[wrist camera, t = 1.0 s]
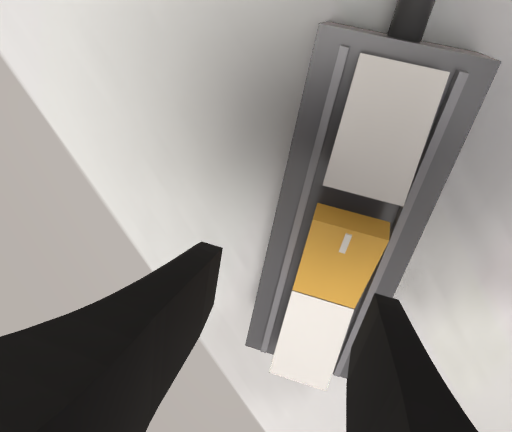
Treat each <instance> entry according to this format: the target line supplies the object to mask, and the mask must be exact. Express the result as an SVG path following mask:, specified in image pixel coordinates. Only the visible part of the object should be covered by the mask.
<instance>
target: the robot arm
mask: <svg viewBox="0 0 512 432" xmlns="http://www.w3.org/2000/svg"><path fill="white" fill-rule="evenodd" d="M222 249H223V248H221V247H218V246H214V245H211V244H208V243H204V242H200V243H198V244H196V245H195V246H193V247H192V248H190V249H189V250H187V251H186V252H184V253H182V254H181V255H179V256H178V257H176V258H175V259H173V260H171V261H170V262H168V263H167V264H165V265H163V266H162V267H160V268H158V269H157V270H155V271H153V272H152V273H150V274H148V275H147V276H145V277H143V278H141V279H140V280H138V281H136V282H134V283H132V284H130V285H129V286H127V287H125V288H123V289H121V290H119V291H117V292H115V293H113V294H111V295H109V296H107V297H105V298H103V299H101V300H99V301H97V302H95V303H93V304H90V305H88V306H85V307H83V308H81V309H78V310H76V311H74V312H71V313H69V314H66V315H64V316H61V317H58V318H55V319H52V320H49V321H46V322H43V323H41V324H38V325H35V326H32V327H30V328H27V329H24V330H21V331H18V332H15V333H11V334H8V335H4V336H1V337H0V432H146V430H147V428H148V425H149V423H150V421H151V420H152V418H153V416H154V414H155V412H156V410H157V408H158V406H159V405H160V403H161V401H162V400H163V398H164V396H165V395H166V393H167V391H168V389H169V388H170V386H171V384H172V383H173V381H174V379H175V378H176V376H177V374H178V372H179V371H180V369H181V367H182V366H183V364H184V362H185V361H186V359H187V357H188V356H189V354H190V352H191V350H192V349H193V347H194V345H195V343H196V342H197V340H198V338H199V337H200V335H201V332H202V330H203V328H204V326H205V323H206V321H207V319H208V316H209V314H210V312H211V309H212V307H213V305H214V299H215V293H216V286H217V280H218V274H219V268H220V261H221V255H222ZM346 432H478V431H477V430H476V428H475V427H474V425H473V424H472V423H471V421H470V420H469V418H468V417H467V416H466V414H465V413H464V411H463V410H462V408H461V407H460V405H459V404H458V402H457V401H456V399H455V398H454V396H453V394H452V393H451V391H450V390H449V388H448V387H447V385H446V384H445V382H444V380H443V379H442V377H441V376H440V374H439V372H438V371H437V369H436V367H435V365H434V364H433V362H432V360H431V359H430V357H429V355H428V354H427V352H426V350H425V348H424V346H423V345H422V343H421V341H420V339H419V337H418V335H417V333H416V332H415V330H414V328H413V326H412V324H411V322H410V320H409V318H408V317H407V315H406V313H405V311H404V309H403V307H402V305H401V304H400V302H399V300H397V299H394V298H391V297H387V296H384V295H380V294H377V293H374V295H373V298H372V300H371V302H370V305H369V307H368V309H367V312H366V314H365V316H364V319H363V321H362V323H361V326H360V328H359V330H358V333H357V335H356V337H355V340H354V342H353V344H352V347H351V352H350V360H349V367H348V376H347V398H346Z"/></svg>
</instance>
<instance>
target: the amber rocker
mask: <svg viewBox="0 0 512 432" xmlns="http://www.w3.org/2000/svg"><path fill="white" fill-rule="evenodd" d="M389 235H390V222H387V221H384V220H380V219H376V218H372V217H369V216H365V215H361V214H358V213H354V212H350V211H347V210H343V209H339V208H335V207H332V206H328V205H324V204H321V203H317V206H316V209H315V213H314V216H313V219H312V223H311V226H310V230H309V233H308V237H307V240H306V244H305V247H304V250H303V254H302V257H301V261H300V264H299V268H298V271H297V275H296V278H295V282H294V286H293V289H292V290H294V291H298V292H301V293H304V294H308V295H311V296H314V297H317V298H321V299H324V300H327V301H331V302H334V303H337V304H341V305H344V306H347V307H350V308H354V309H355V307H356V305H357V303H358V301H359V299H360V297H361V295H362V293H363V291H364V289H365V287H366V285H367V283H368V281H369V279H370V277H371V275H372V274H373V272H374V270H375V268H376V266H377V264H378V262H379V260H380V258H381V256H382V254H383V252H384V250H385V248H386V246H387V244H388V242H389Z"/></svg>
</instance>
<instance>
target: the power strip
mask: <svg viewBox="0 0 512 432" xmlns="http://www.w3.org/2000/svg"><path fill="white" fill-rule="evenodd" d="M434 2H435V0H398V3H397V6H396V9H395V12H394V16H393V19H392V22H391V25H390V28H389V32H388V34H387V33H382V32H377V31H372V30H367V29H363V28H358V27H353V26H348V25H343V24H339V23H334V22H329V21H326V22H322V23H319V26H318V30H317V35H316V39H315V44H314V48H313V52H312V57H311V61H310V65H309V70H308V74H307V78H306V83H305V87H304V91H303V96H302V100H301V105H300V109H299V113H298V118H297V122H296V126H295V131H294V135H293V139H292V144H291V148H290V153H289V157H288V161H287V166H286V170H285V174H284V179H283V183H282V187H281V192H280V196H279V200H278V205H277V209H276V214H275V218H274V222H273V227H272V231H271V235H270V240H269V244H268V248H267V253H266V257H265V261H264V266H263V270H262V275H261V279H260V283H259V288H258V292H257V296H256V301H255V305H254V309H253V314H252V318H251V323H250V327H249V331H248V336H247V340H246V344H245V346H248V347H252V348H255V349H258V350H261V352H264V353H266V352H267V353H270V354H273V355H274V352H275V348H276V345H277V341H278V338H279V334H280V331H281V327H282V324H283V320H284V317H285V313H286V310H287V306H288V303H289V299H290V296H291V292H292V288H293V285H294V282H295V278H296V275H297V271H298V268H299V264H300V261H301V257H302V254H303V250H304V247H305V244H306V240H307V237H308V233H309V230H310V226H311V223H312V219H313V216H314V213H315V209H316V206H317V203H321V204H324V205H328V206H332V207H335V208H339V209H343V210H347V211H350V212H354V213H358V214H361V215H365V216H369V217H372V218H376V219H380V220H384V221H387V222H390V235H389V242H388V244H387V246H386V248H385V250H384V252H383V254H382V256H381V258H380V260H379V262H378V264H377V266H376V268H375V270H374V272H373V274H372V275H371V277H370V279H369V281H368V283H367V285H366V287H365V289H364V291H363V293H362V295H361V297H360V299H359V301H358V303H357V305H356V307H355V309H354V312H353V315H352V318H351V321H350V324H349V327H348V329H347V332H346V335H345V338H344V341H343V344H342V347H341V350H340V353H339V356H338V359H337V362H336V365H335V368H334V371H333V374H334V375H335V376H338V377H339V376H340V377H343V378H346V379H347V376H348V367H349V360H350V352H351V347H352V344H353V342H354V340H355V337H356V335H357V333H358V330H359V328H360V326H361V323H362V321H363V319H364V316H365V314H366V312H367V309H368V307H369V305H370V302H371V300H372V298H373V295H374V293H377V294H380V295H384V296H387V297H391V298H393V296H394V293H395V291H396V289H397V287H398V285H399V282H400V280H401V278H402V276H403V274H404V272H405V269H406V267H407V265H408V263H409V261H410V259H411V256H412V254H413V252H414V250H415V248H416V246H417V243H418V241H419V239H420V237H421V235H422V233H423V230H424V228H425V226H426V224H427V222H428V220H429V217H430V215H431V213H432V211H433V209H434V207H435V204H436V202H437V200H438V198H439V196H440V194H441V191H442V189H443V187H444V185H445V183H446V181H447V178H448V176H449V174H450V172H451V170H452V168H453V165H454V163H455V161H456V159H457V157H458V155H459V152H460V150H461V148H462V146H463V144H464V142H465V139H466V137H467V135H468V133H469V131H470V129H471V126H472V124H473V122H474V120H475V118H476V116H477V113H478V111H479V109H480V107H481V105H482V103H483V100H484V98H485V96H486V94H487V92H488V90H489V87H490V85H491V83H492V81H493V79H494V77H495V74H496V72H497V70H498V68H499V66H500V64H501V61H499V60H496V59H494V58H491V57H488V56H486V55H483V54H480V53H478V52H473V51H469V50H464V49H459V48H454V47H449V46H445V45H440V44H435V43H430V42H425V41H421V39H422V36H423V33H424V31H425V28H426V25H427V22H428V19H429V16H430V14H431V11H432V8H433V5H434ZM360 53H363V54H368V55H373V56H377V57H382V58H387V59H391V60H396V61H401V62H405V63H410V64H414V65H419V66H424V67H428V68H433V69H438V70H442V71H447V72H450V74H449V77H448V80H447V83H446V86H445V89H444V92H443V94H442V97H441V100H440V103H439V106H438V109H437V112H436V115H435V117H434V120H433V123H432V126H431V129H430V132H429V135H428V137H427V140H426V143H425V146H424V149H423V152H422V155H421V158H420V160H419V163H418V166H417V169H416V172H415V175H414V178H413V180H412V183H411V186H410V189H409V192H408V195H407V198H406V200H405V203H404V206H399V205H395V204H392V203H388V202H384V201H380V200H376V199H373V198H369V197H365V196H361V195H357V194H354V193H350V192H346V191H342V190H338V189H335V188H331V187H327V186H323V182H324V178H325V174H326V171H327V167H328V164H329V160H330V157H331V153H332V150H333V146H334V143H335V139H336V136H337V132H338V129H339V125H340V122H341V118H342V115H343V111H344V107H345V104H346V100H347V97H348V93H349V90H350V86H351V83H352V79H353V76H354V72H355V69H356V65H357V62H358V58H359V55H360Z"/></svg>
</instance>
